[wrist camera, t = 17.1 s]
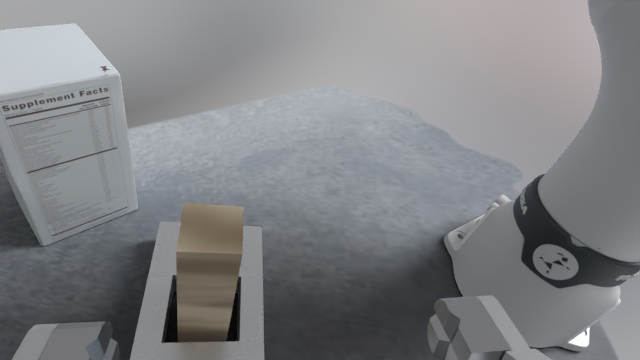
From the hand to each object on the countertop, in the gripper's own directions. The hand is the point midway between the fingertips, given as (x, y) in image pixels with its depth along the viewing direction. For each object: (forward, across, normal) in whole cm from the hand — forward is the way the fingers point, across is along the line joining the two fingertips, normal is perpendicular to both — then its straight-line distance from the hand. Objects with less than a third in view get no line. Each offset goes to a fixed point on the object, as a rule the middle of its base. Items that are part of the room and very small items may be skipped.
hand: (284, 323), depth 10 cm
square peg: (+17, +5, +22) cm, 28 cm away
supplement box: (+30, +20, +17) cm, 40 cm away
